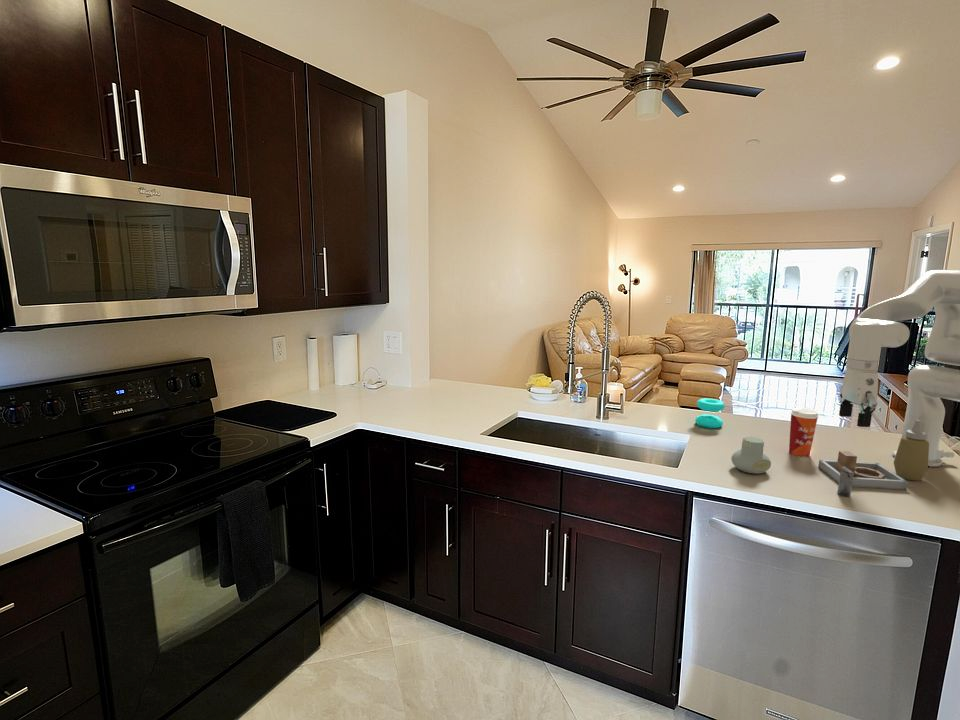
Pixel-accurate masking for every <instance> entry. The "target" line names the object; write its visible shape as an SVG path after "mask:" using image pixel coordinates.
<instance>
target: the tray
mask: <svg viewBox="0 0 960 720" xmlns="http://www.w3.org/2000/svg"><path fill="white" fill-rule="evenodd" d="M837 461H838V460H831V459H830V460H829V459H819V461H818V469H820V470H821V471H822V472H823V473H825V474H826V475H828V476H829V477H830V478H831V479H832V480H834V481H835V482H836V483H838V484H839V478H840V473H839V472H838V471H837V470H836V468H837ZM856 467H866V468H870V469H873V470H877V471H879V472H881V473H882V474H884V475H885V479H874V478H858V477H853V481H852V488H853V487H854V488H855V487H856V488H870V489H881V490H882V489H883V490H900V491H901V490H902V491H903V490H904V491H907V489H908V484H909V482H908V480H907V479H904V478H901V477H899V476H898V475H896V472H895V473H894V472H893V471H892V470H890V469H889V468H887V467H885V466H883V465H882V464H880V463H879V462H864V461H856ZM860 474H863V475H867V476H874V475H870V474H866V473H860Z"/></svg>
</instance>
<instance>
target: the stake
mask: <svg viewBox="0 0 960 720" xmlns="http://www.w3.org/2000/svg"><path fill="white" fill-rule="evenodd" d="M841 470H842V471H841V472H840V478H839V483H838V484H837V485H838V487H837V492H836V493H837V495H838V496H840V497H844V498H845V497H846V498H849V497H851V493H852V488H853V487H852V481H853V476H854V473H853V472H852V471H851V470H849V469H848V468H846V467H842V466H841Z"/></svg>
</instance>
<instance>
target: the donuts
mask: <svg viewBox="0 0 960 720" xmlns="http://www.w3.org/2000/svg"><path fill="white" fill-rule="evenodd" d="M696 405H697V408H699V409H700V410H702V411H706V412H712V413H713V412H714V413H715V412H716V413H717V412H721V411H723V410H724V408H725V407H726V406H725V403H724V401H722V400H719V399H716V398H706V397H704V398H699V399H698V400H697V402H696ZM695 423H696V424H697V425H698V426H700V427H703V428H706V429H718V428H721V427H722V426H723V425H724V421H723V420H722V418H720V417H719V416H717V415H713V414H700V415H697V417H696V418H695Z"/></svg>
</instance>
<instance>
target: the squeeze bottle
mask: <svg viewBox="0 0 960 720" xmlns="http://www.w3.org/2000/svg"><path fill="white" fill-rule="evenodd" d="M925 439H926V433H924V432H922V426H921V421H920V420H916V421H915V423H914V425H913V427H912V429H911V430H907V431H906V436H904V437H902V436H901V438H900V439H899V440H900V441H899V443H898V447H897V449H896V450H897V453H896V456H895V457H894V459H893V467H894V471H895V474H896V475H898V476H899V477H901V478H902V479H904V480H906V481H918V482H919V481H921V480H922V479H923V478H924V476H925V475H926V474H927V472H928V470H929V467H928V456H929V442H928V441H927V440H925Z"/></svg>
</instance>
